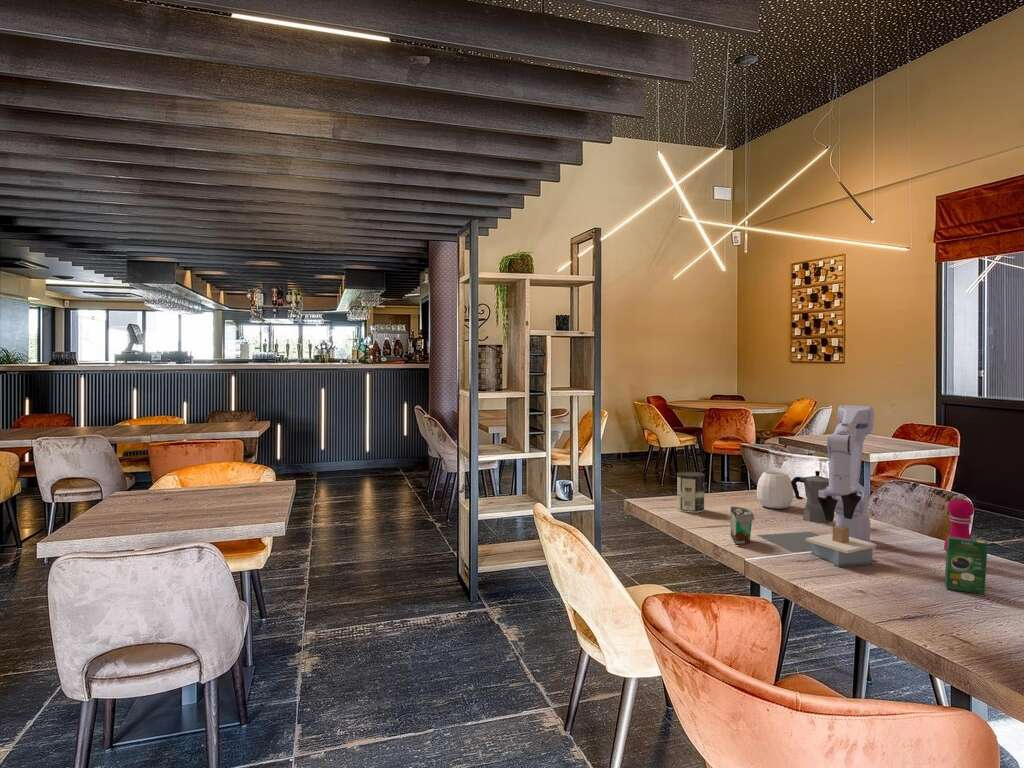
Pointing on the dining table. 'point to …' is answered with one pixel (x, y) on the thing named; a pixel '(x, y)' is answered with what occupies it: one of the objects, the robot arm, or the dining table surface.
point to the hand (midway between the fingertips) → (838, 519)
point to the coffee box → (966, 565)
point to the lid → (841, 541)
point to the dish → (843, 556)
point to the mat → (791, 540)
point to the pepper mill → (960, 518)
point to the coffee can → (690, 492)
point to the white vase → (775, 490)
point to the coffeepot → (812, 496)
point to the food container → (741, 525)
